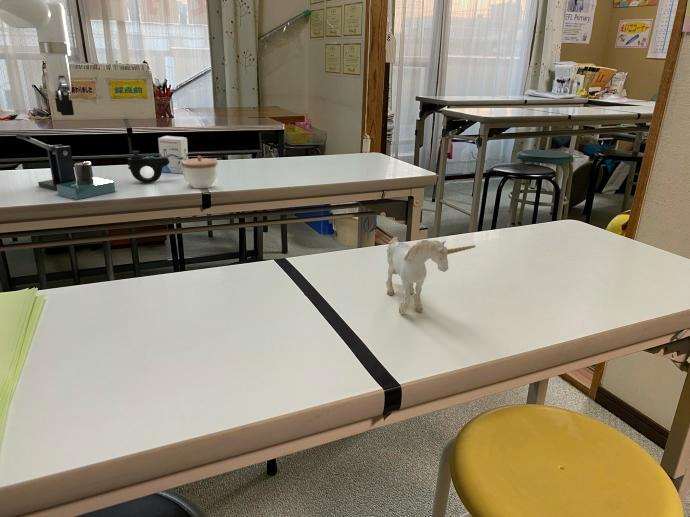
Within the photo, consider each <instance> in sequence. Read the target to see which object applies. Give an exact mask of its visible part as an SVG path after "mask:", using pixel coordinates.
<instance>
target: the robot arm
mask: <svg viewBox="0 0 690 517" xmlns="http://www.w3.org/2000/svg"><path fill="white" fill-rule="evenodd" d="M0 20H1V21H2V22H3V23H4V24H6V25H7V26H8V27H11V28H15V29H35V30H36V31H35V32H36V37H37V42H38V48H39V54H40V56H44V60H45V69H46V70H45V71H46V75H47V82H48V89H49V91H50V92H51V93H53V94H54V96H55V97H54V101H55V108H56V112H58V113H60V114H61V116H75V111H74V105H73V100H72V97H71V92H72V83H71V82H72V81H71V75H70V68H69V61H68V56H69V57H70V56H72V52H71V45H70V40H69V34H68V33H69V32H68V27H67V20H66V14H65V9H64V5H63V4H62V3H61V2H60V1H58V0H0Z"/></svg>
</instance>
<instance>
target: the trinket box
mask: <svg viewBox="0 0 690 517" xmlns="http://www.w3.org/2000/svg"><path fill="white" fill-rule="evenodd" d="M181 164H182V170H183V174H182V175H183V178H184V180H185V181H186V183H187V184H188V185H190V186H191V188H193V189H208V188H211V187H212V185H213V184H214V183H215V182H216V180H217V177H218V171H219V168H218V164H219V163H218V160H216V159H214V158H207V157H204V158H203V157H202V156H201V155H197V157H196V158H195V157H194V158H188V159H187V160H183V161H182V162H181Z"/></svg>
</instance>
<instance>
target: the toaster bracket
mask: <svg viewBox="0 0 690 517" xmlns="http://www.w3.org/2000/svg"><path fill="white" fill-rule="evenodd" d="M50 146H51V147H53V148H54V146H56V147H55V148H54V149H55V155H53V154H52V152H53V151H51V150H48V149H46V151H47V158H48V162H49V168H50V173H51V178H52V179H49V180H48V179H47V180H42V181H38V182H37V184H38V187H41V188H43V189H48V190H52V191H56V192H58V191H57V184H63V183H68V182H73V181H76V174H75V168H74V160H73V153H72V147H71V145H63V144H52V145H50Z"/></svg>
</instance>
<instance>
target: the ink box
mask: <svg viewBox="0 0 690 517" xmlns="http://www.w3.org/2000/svg"><path fill="white" fill-rule="evenodd" d="M157 141H158V152H159V157H168V159H169V161H170V162H169V164H168V165H166V166H164V167H163V168H162V173H171V174H180V175H181V174H182V175H183V170H182V164H181V162H182V161H183V160H187V159H189V151H188V150H189V149H188V138H187V137H184V136H173V135H164V136H161V137H158V138H157Z"/></svg>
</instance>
